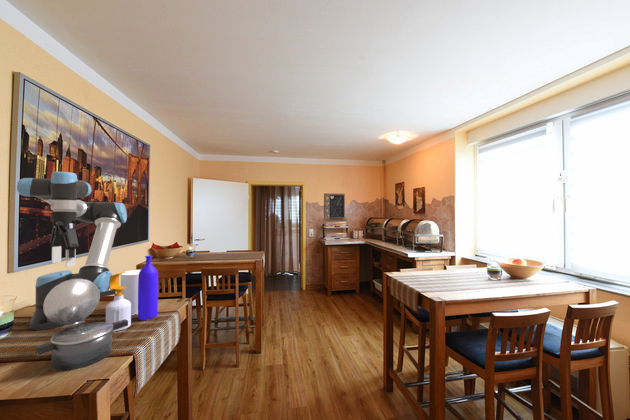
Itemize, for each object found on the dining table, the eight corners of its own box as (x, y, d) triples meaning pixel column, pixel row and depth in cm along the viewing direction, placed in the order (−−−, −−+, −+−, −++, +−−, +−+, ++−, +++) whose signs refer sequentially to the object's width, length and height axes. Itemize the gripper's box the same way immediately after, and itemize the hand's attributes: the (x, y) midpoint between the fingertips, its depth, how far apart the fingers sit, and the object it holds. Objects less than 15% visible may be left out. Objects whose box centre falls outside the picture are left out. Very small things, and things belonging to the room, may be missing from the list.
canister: (118, 309, 139) (119, 271, 139) (148, 304, 148) (149, 268, 148) (122, 317, 129) (122, 276, 129) (154, 310, 138) (154, 272, 138)
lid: (44, 334, 91) (42, 333, 92) (116, 313, 109) (114, 313, 110) (43, 284, 92) (41, 283, 93) (115, 272, 110) (113, 272, 111)
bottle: (154, 312, 135) (154, 254, 135) (160, 316, 130) (161, 255, 130) (135, 317, 129) (135, 256, 129) (141, 322, 123) (142, 257, 124)
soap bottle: (117, 333, 112) (118, 275, 113) (100, 331, 114) (100, 274, 114) (135, 324, 121) (136, 270, 121) (119, 322, 123) (119, 269, 123)
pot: (29, 366, 88) (29, 339, 88) (116, 336, 109) (116, 314, 109) (46, 382, 79) (47, 352, 79) (137, 346, 101) (137, 323, 101)
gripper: (39, 210, 108) (38, 262, 108) (64, 211, 96) (63, 269, 96) (63, 210, 115) (62, 259, 115) (89, 211, 103) (89, 265, 103)
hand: (63, 264), depth 105 cm, fingers open, 13 cm apart
